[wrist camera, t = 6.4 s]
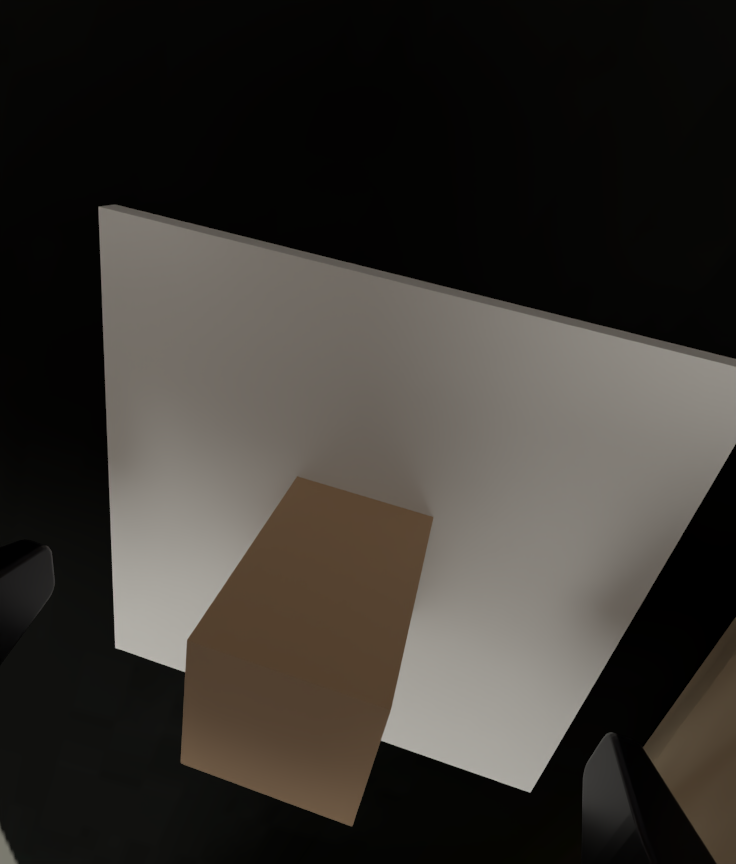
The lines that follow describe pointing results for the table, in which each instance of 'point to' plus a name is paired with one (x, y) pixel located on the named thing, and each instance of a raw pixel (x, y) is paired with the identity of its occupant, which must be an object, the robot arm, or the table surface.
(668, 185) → the table surface
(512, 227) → the table surface
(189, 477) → the lid
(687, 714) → the box
